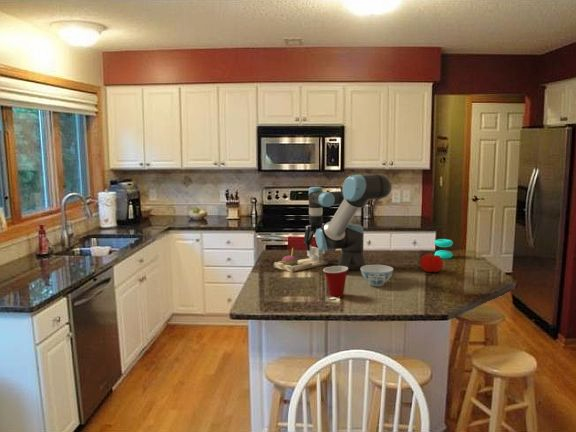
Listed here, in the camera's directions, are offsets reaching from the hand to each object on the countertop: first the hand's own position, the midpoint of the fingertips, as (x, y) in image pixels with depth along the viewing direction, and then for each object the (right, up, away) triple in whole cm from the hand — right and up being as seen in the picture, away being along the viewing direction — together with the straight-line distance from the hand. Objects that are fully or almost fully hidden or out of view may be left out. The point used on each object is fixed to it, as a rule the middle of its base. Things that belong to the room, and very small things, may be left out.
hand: (316, 254), depth 276 cm
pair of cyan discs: (+74, -2, +10) cm, 75 cm away
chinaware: (+26, -10, -45) cm, 53 cm away
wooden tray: (-8, -5, -6) cm, 12 cm away
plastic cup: (+5, -13, -61) cm, 63 cm away
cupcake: (-15, -7, -12) cm, 20 cm away
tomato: (+58, -7, -23) cm, 62 cm away
